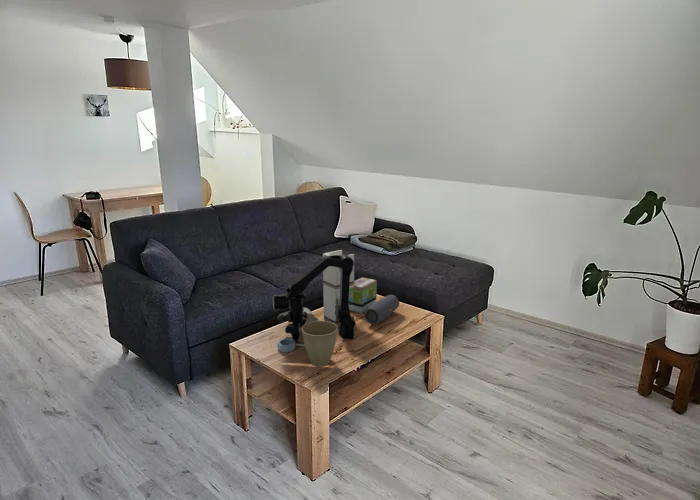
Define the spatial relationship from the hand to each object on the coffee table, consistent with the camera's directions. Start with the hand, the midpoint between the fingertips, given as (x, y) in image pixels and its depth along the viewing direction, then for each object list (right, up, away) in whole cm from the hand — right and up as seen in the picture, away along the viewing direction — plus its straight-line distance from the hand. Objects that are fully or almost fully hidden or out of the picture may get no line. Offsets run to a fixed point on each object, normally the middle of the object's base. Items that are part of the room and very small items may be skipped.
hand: (297, 339), depth 216 cm
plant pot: (+12, -7, -18) cm, 22 cm away
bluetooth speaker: (+41, +5, +26) cm, 49 cm away
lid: (0, -1, 0) cm, 1 cm away
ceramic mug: (+3, +4, +21) cm, 21 cm away
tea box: (+31, +9, +41) cm, 52 cm away
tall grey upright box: (+18, +5, +25) cm, 32 cm away
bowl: (-4, -3, -7) cm, 9 cm away
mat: (0, -1, 0) cm, 2 cm away
